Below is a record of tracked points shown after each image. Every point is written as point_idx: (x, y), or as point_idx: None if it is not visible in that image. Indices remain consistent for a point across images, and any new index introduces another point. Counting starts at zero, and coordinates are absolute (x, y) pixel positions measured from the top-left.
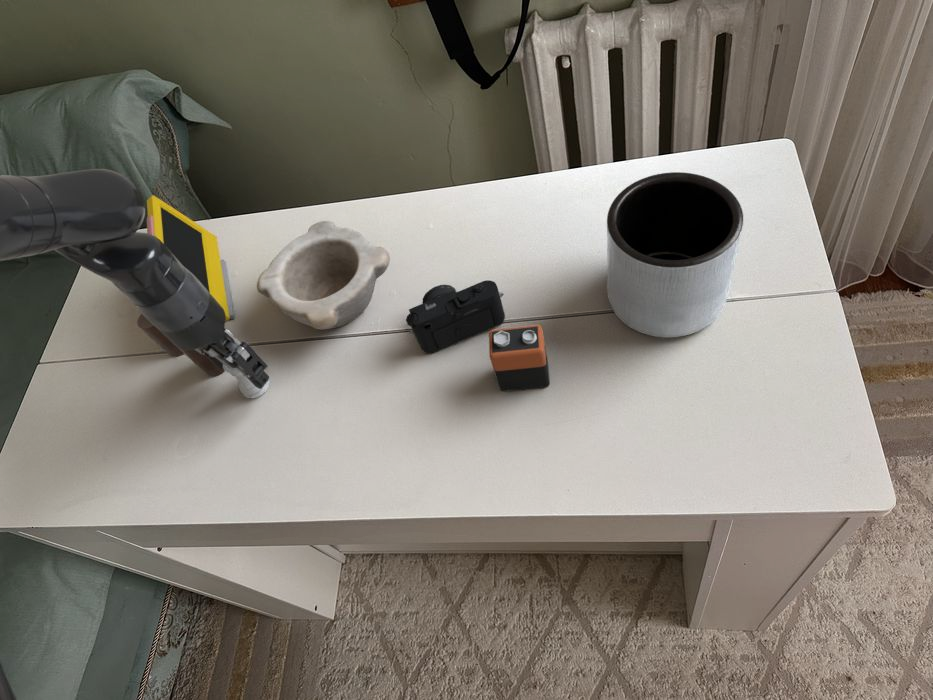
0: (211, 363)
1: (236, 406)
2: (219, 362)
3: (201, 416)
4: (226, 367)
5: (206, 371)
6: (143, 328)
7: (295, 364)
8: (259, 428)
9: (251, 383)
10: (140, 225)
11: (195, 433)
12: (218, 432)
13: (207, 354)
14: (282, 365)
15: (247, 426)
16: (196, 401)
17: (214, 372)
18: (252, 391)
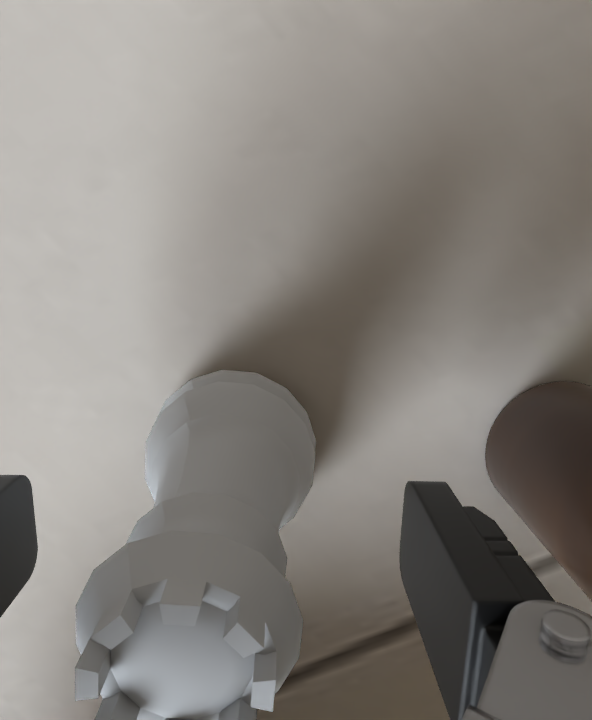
0: (546, 470)
1: (266, 299)
2: (422, 533)
3: (433, 152)
4: (164, 584)
5: (569, 403)
6: None
7: None
8: (33, 247)
9: (164, 467)
10: None
11: (392, 37)
12: (251, 113)
13: (502, 615)
14: None
15: (109, 226)
16: (531, 219)
17: (523, 415)
18: (166, 418)
